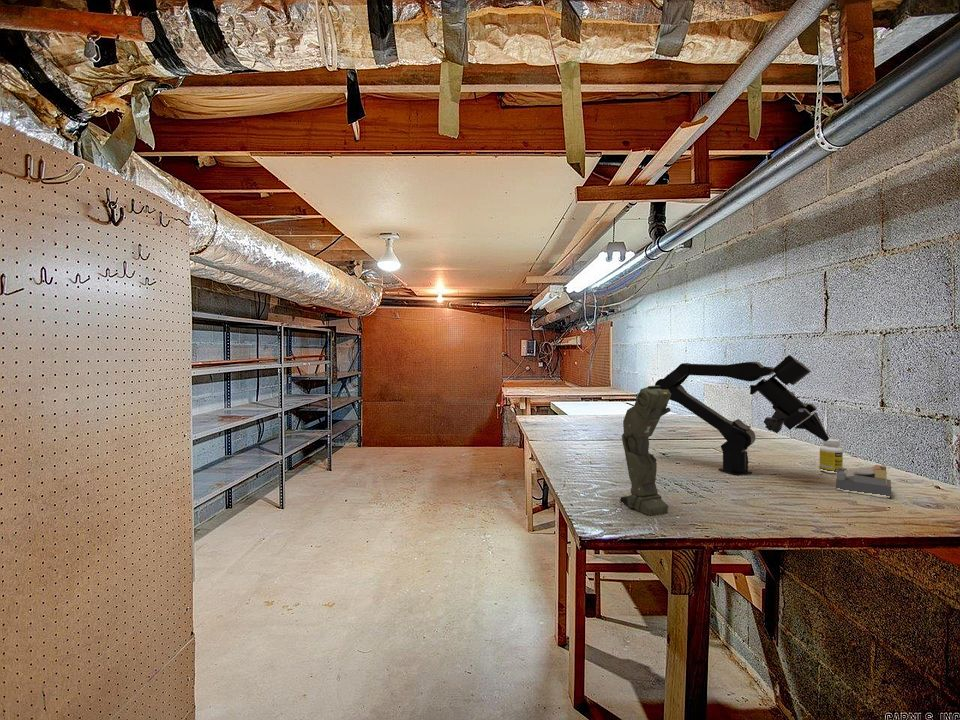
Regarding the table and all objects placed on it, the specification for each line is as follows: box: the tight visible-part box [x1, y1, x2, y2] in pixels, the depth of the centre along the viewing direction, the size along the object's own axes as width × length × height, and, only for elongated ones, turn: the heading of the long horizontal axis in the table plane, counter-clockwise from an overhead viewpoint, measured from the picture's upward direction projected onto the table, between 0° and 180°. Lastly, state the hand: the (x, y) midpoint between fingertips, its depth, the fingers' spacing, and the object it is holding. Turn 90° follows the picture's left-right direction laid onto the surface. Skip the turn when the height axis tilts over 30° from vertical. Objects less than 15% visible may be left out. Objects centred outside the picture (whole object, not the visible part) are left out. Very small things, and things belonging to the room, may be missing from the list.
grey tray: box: [835, 464, 892, 497], centre depth 114 cm, size 10×8×6 cm
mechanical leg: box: [619, 385, 672, 517], centre depth 103 cm, size 14×7×30 cm, turn 21°
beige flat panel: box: [839, 465, 881, 477], centre depth 114 cm, size 1×5×9 cm
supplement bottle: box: [819, 438, 844, 472], centre depth 132 cm, size 5×5×10 cm
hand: (827, 440), depth 119 cm, fingers closed
